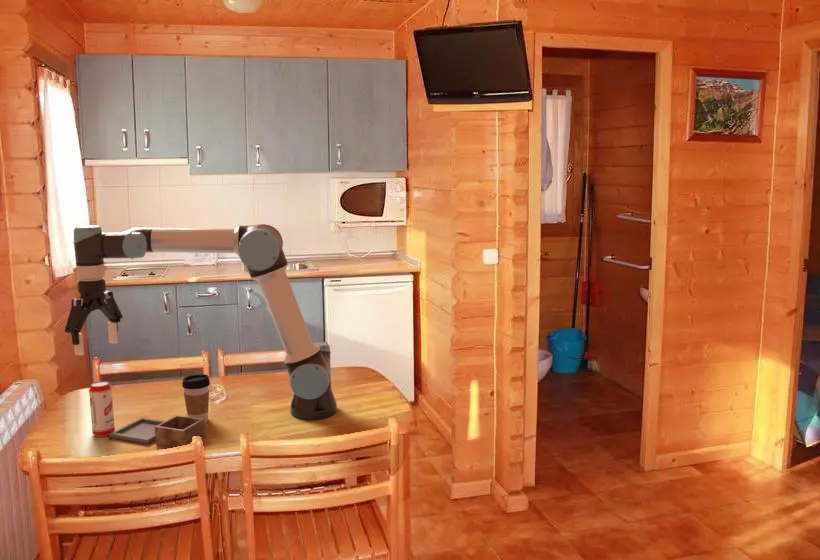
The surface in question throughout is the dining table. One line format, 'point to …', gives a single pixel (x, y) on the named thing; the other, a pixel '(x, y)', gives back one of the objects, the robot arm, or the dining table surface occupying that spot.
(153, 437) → the slate tray
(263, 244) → the robot arm
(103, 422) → the beer can
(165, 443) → the walnut crate
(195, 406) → the coffee cup
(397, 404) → the dining table surface
